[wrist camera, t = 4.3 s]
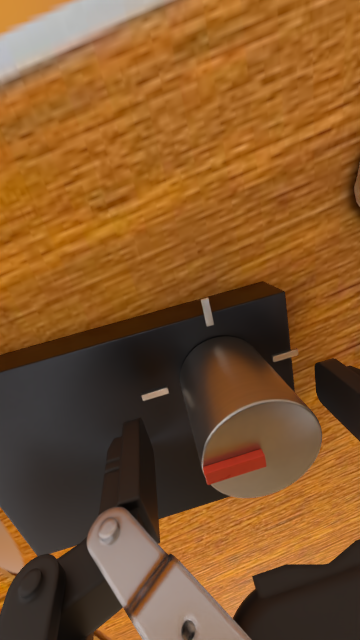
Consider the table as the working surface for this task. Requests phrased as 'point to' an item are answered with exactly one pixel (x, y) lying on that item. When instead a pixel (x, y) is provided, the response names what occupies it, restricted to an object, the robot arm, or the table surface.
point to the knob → (246, 420)
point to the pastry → (357, 187)
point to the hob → (117, 409)
